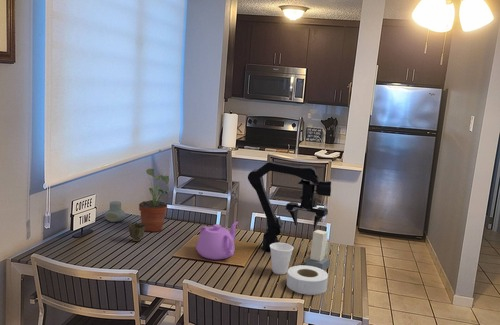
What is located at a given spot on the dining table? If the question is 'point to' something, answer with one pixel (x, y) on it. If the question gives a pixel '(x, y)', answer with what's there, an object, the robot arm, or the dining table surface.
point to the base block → (318, 263)
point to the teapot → (216, 242)
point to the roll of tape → (307, 280)
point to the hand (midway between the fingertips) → (305, 227)
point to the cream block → (318, 245)
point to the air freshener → (115, 212)
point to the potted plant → (154, 207)
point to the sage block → (326, 248)
